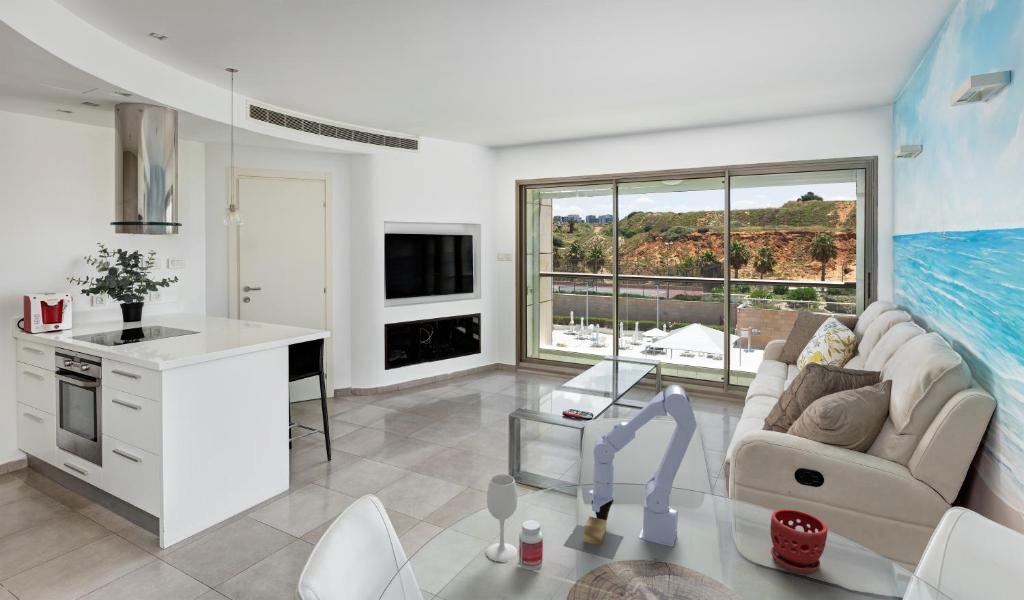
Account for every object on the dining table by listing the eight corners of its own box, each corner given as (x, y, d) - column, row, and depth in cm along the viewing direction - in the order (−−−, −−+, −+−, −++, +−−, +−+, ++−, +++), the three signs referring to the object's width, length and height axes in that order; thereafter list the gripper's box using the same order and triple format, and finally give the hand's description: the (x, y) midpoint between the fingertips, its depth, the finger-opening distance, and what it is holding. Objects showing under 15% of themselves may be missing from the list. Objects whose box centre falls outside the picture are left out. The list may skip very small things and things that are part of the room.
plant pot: (822, 584, 135) (826, 539, 133) (765, 566, 142) (768, 523, 140) (825, 557, 146) (828, 516, 144) (771, 542, 153) (774, 502, 151)
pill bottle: (547, 566, 141) (547, 526, 140) (527, 574, 138) (528, 533, 136) (533, 554, 146) (533, 515, 145) (514, 561, 143) (514, 522, 141)
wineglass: (522, 548, 149) (523, 476, 146) (509, 566, 141) (510, 490, 138) (494, 540, 152) (495, 470, 150) (480, 557, 145) (480, 483, 142)
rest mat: (623, 537, 154) (623, 536, 154) (612, 560, 144) (612, 559, 144) (577, 525, 160) (577, 524, 160) (563, 547, 150) (563, 545, 150)
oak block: (606, 536, 154) (606, 520, 153) (601, 546, 150) (601, 529, 149) (589, 532, 156) (589, 516, 156) (583, 541, 152) (584, 524, 151)
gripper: (597, 467, 165) (595, 509, 167) (582, 487, 152) (581, 532, 154) (619, 471, 162) (618, 514, 164) (606, 492, 149) (605, 538, 151)
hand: (601, 523), depth 159 cm, fingers closed
